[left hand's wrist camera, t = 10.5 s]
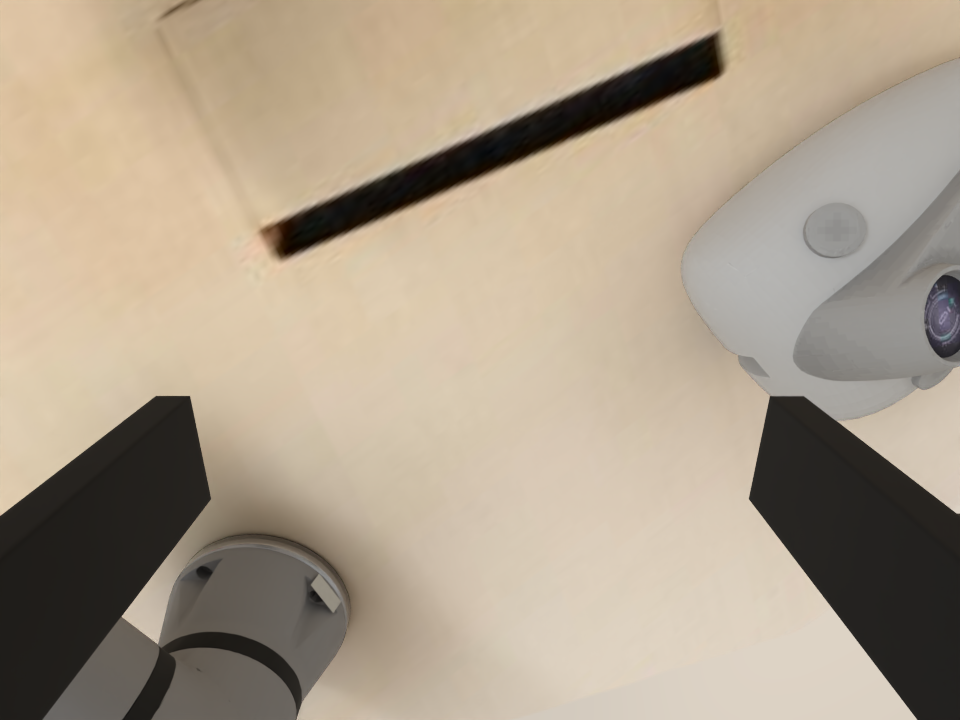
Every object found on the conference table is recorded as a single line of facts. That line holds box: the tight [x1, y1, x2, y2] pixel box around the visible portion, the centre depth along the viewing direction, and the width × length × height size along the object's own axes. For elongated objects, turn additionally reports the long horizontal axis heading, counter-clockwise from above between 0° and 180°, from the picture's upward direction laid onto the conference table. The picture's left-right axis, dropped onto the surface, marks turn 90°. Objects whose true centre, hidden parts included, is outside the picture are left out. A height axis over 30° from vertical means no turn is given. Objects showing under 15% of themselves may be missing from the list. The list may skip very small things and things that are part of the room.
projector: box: [681, 57, 960, 421], centre depth 32 cm, size 22×23×15 cm
